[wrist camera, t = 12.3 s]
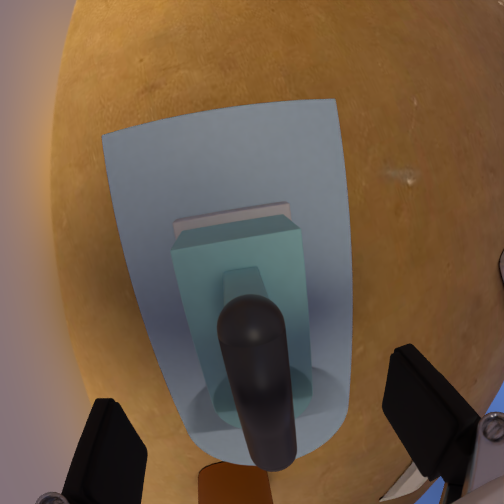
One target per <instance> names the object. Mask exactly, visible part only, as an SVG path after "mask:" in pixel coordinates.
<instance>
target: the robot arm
mask: <svg viewBox="0 0 504 504" xmlns="http://www.w3.org/2000/svg"><path fill="white" fill-rule="evenodd" d="M382 409H383V412H384V414H385V416H386V417H387V419H388V421H389V422H390V424H391V426H392V427H393V429H394V430H395V432H396V434H397V435H398V437H399V439H400V440H401V442H402V443H403V445H404V447H405V448H406V450H407V452H408V453H409V455H410V457H411V458H412V460H413V462H414V463H415V465H416V467H417V468H418V470H419V472H420V473H421V475H422V476H423V477H428V479H429V481H430V482H431V481H432V480H434V479H436V478H438V477H440V476H441V477H442V478H443V480H444V481H445V484H444V488H443V492H442V495H441V499H440V502H439V504H504V413H501V412H490V413H488V414H486V415H484V416H483V417H482V418H481V417H480V416H479V415H478V414H477V413H476V412H475V411H474V409H473V408H472V407H471V406H470V405H469V404H468V403H467V402H466V400H465V399H464V398H463V397H462V396H461V395H460V394H459V393H458V392H457V390H456V389H455V388H454V387H453V386H452V385H451V384H450V383H449V382H448V381H447V380H446V378H445V377H444V376H443V375H442V374H441V373H440V372H438V371H437V370H436V369H435V368H434V366H433V365H432V364H431V363H430V362H429V361H428V360H427V359H426V358H425V357H424V356H423V355H422V354H421V353H420V352H419V351H418V350H417V349H416V348H415V347H414V345H412V344H410V343H409V344H406V345H404V346H401V347H398V348H395V350H394V353H393V354H391V356H390V362H389V369H388V375H387V381H386V387H385V392H384V397H383V402H382ZM147 456H148V453H147V448H146V446H145V445H144V443H143V442H142V440H141V439H140V437H139V435H138V434H137V432H136V431H135V429H134V427H133V426H132V424H131V423H130V421H129V419H128V418H127V416H126V414H125V412H124V411H123V409H122V407H121V405H120V404H119V403H118V402H115V401H114V399H112V398H97V399H96V400H95V402H94V404H93V407H92V409H91V412H90V414H89V417H88V419H87V422H86V425H85V427H84V430H83V433H82V435H81V437H80V440H79V443H78V445H77V448H76V451H75V454H74V457H73V459H72V462H71V465H70V468H69V472H68V474H67V477H66V481H65V484H64V487H63V490H62V493H61V494H59V493H57V492H48V493H45V494H43V495H41V496H40V497H39V498H38V500H37V501H36V504H141V499H142V491H143V483H144V476H145V469H146V463H147Z"/></svg>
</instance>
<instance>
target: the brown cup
mask: <svg viewBox="0 0 504 504" xmlns="http://www.w3.org/2000/svg"><path fill="white" fill-rule="evenodd" d="M198 504H273V500H272V495H271V490H270V485H269V480H268V475H267V471H265V470H262V469H260V468H259V467H257V466H250V465H240V464H234V463H230V462H222V463H218V464H213V465H211V466H208V467H206V468H204V469H203V470H202V471H201V472H200V473H199V476H198Z"/></svg>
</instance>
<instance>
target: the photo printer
mask: <svg viewBox="0 0 504 504" xmlns="http://www.w3.org/2000/svg"><path fill="white" fill-rule="evenodd" d="M500 270H501V274H502V278H503V281H504V251H503V253H502V255H501V258H500Z"/></svg>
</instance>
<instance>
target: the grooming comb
mask: <svg viewBox="0 0 504 504" xmlns="http://www.w3.org/2000/svg"><path fill="white" fill-rule="evenodd" d="M427 479H428V477H423V476H422V475H421V473H420V472H419V470H418V468H417V467H416V465H415V463H414V462H413V463H412V465H410V466H409V468H408V469H407V471H405V473H404V474H403V475H402V476H401V478H400V479H399V480H398V482H396V483H395V484H394V486H393V488H391V489H389V491H388V493H387V494H386V495H385V496H384V497H383V498H382V499H381V500H380V501H379V502H381V501H385V500H390V499H394V498H397V497H400V496H403V495H406V494H409V493H411V492H413V491H415V490H417V489H418V488H419V487H421V486H422V484H423V483H424V482H425V481H426V480H427Z"/></svg>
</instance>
